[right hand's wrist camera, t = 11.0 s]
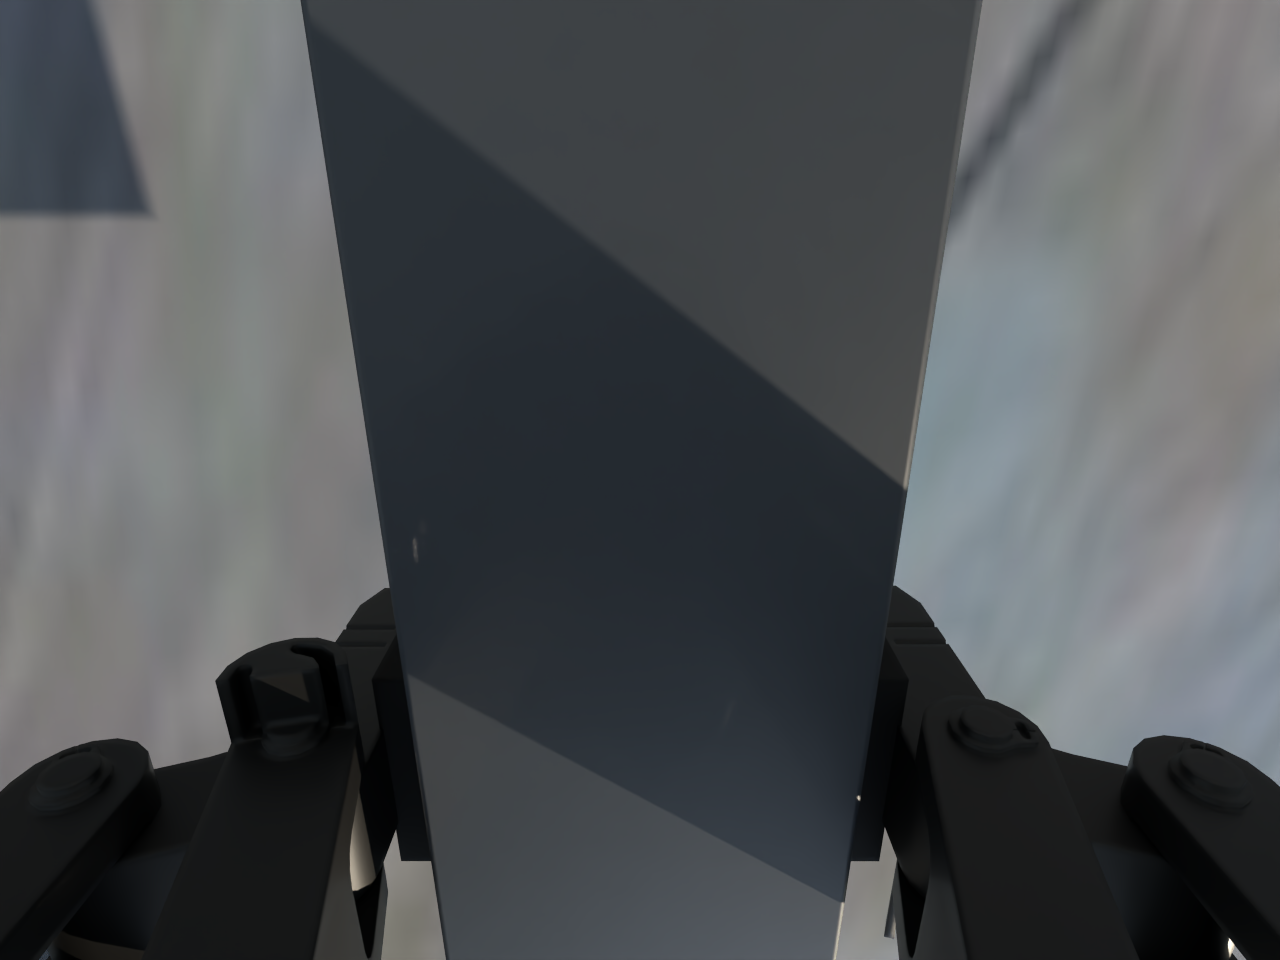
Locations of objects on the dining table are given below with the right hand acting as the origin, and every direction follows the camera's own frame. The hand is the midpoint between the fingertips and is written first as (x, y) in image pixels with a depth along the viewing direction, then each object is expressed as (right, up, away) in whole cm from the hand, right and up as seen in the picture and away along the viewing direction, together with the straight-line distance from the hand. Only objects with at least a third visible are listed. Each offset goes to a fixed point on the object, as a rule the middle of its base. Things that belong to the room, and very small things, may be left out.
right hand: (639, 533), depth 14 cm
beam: (0, +12, -5) cm, 13 cm away
